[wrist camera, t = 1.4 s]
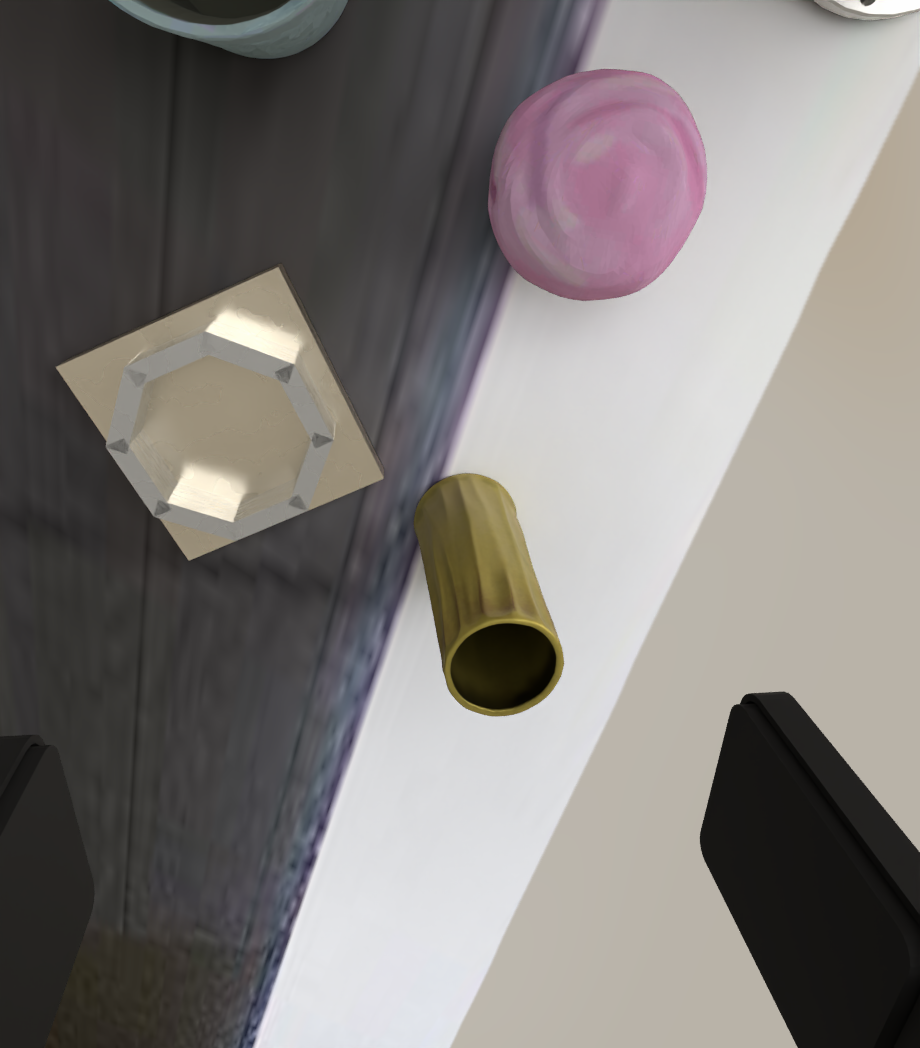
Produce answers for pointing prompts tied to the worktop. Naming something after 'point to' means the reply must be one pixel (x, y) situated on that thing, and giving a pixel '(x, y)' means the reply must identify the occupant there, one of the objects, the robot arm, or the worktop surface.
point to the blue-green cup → (242, 22)
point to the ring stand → (226, 414)
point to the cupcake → (597, 183)
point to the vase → (485, 598)
